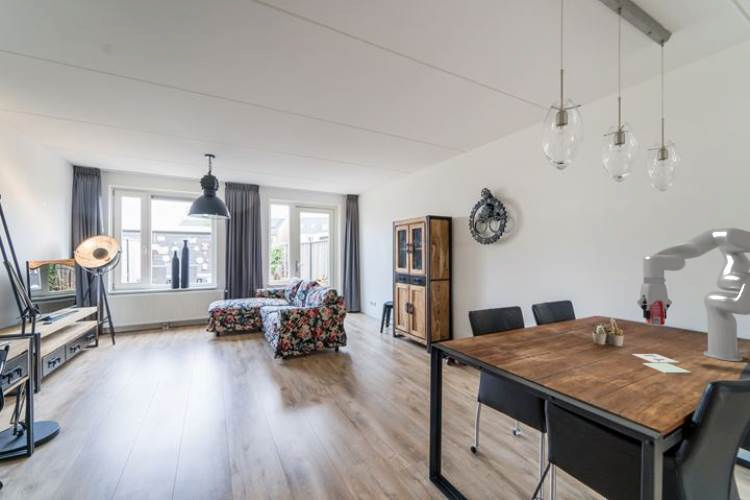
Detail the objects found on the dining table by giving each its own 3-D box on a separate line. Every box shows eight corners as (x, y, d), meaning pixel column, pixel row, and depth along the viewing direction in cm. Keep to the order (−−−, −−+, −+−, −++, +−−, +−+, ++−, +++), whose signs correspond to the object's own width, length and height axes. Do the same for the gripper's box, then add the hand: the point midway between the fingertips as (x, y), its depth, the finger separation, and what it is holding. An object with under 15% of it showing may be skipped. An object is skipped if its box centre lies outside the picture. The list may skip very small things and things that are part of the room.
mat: (666, 363, 143) (666, 362, 143) (691, 372, 132) (691, 371, 132) (642, 364, 143) (642, 363, 143) (665, 373, 132) (665, 372, 132)
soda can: (657, 323, 154) (656, 298, 154) (669, 326, 147) (668, 300, 147) (641, 323, 154) (640, 298, 155) (652, 326, 147) (652, 300, 148)
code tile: (655, 354, 156) (655, 353, 156) (679, 362, 144) (679, 362, 144) (632, 354, 156) (632, 353, 156) (653, 362, 144) (653, 362, 144)
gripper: (664, 280, 155) (665, 316, 155) (629, 280, 155) (630, 317, 154) (679, 281, 147) (680, 319, 147) (642, 282, 147) (643, 320, 147)
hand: (654, 318), depth 151 cm, fingers closed on soda can, 7 cm apart
